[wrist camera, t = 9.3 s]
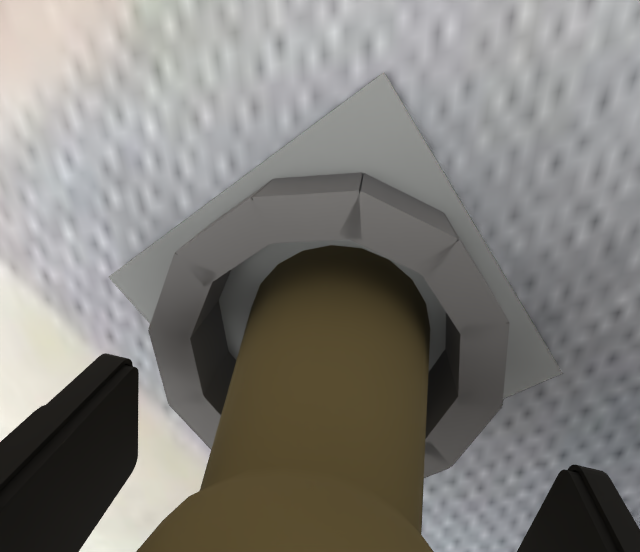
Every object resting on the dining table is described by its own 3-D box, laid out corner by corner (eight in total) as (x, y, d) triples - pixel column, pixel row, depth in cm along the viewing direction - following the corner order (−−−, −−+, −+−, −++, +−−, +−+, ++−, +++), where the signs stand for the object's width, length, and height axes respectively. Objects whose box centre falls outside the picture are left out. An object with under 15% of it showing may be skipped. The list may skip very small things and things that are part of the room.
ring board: (551, 356, 15) (598, 427, 12) (300, 468, 19) (284, 546, 16) (383, 73, 12) (386, 67, 9) (123, 266, 16) (60, 310, 13)
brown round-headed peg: (306, 208, 13) (81, 591, 3) (469, 309, 14) (708, 891, 4) (221, 348, 16) (-60, 817, 6) (363, 429, 16) (342, 978, 6)
